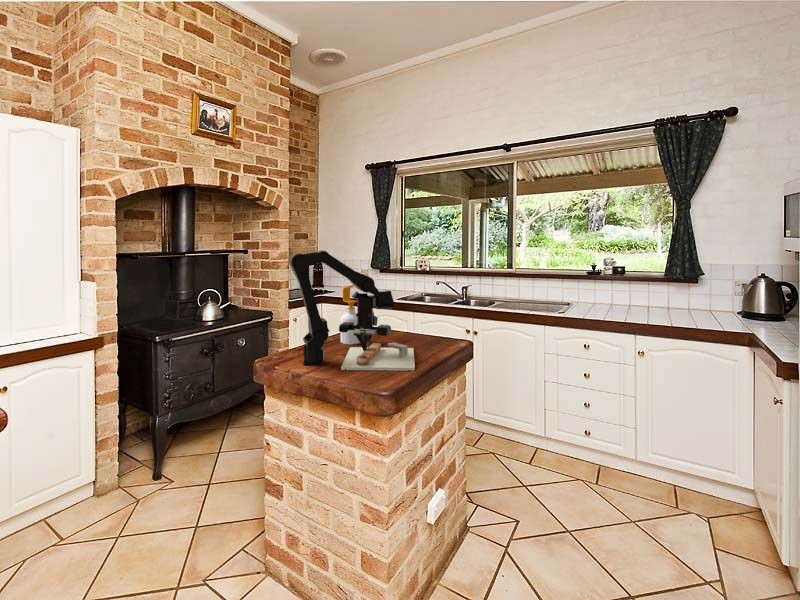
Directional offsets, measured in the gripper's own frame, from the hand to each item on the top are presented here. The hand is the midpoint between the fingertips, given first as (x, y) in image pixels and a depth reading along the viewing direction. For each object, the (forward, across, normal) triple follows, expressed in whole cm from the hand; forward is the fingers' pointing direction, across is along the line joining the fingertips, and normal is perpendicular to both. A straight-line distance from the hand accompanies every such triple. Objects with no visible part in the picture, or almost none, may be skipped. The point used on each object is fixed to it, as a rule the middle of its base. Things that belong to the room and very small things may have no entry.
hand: (364, 351), depth 168 cm
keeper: (+2, -12, -4) cm, 13 cm away
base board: (+2, -6, +1) cm, 7 cm away
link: (+1, -3, +2) cm, 3 cm away
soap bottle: (+3, +13, -20) cm, 24 cm away
